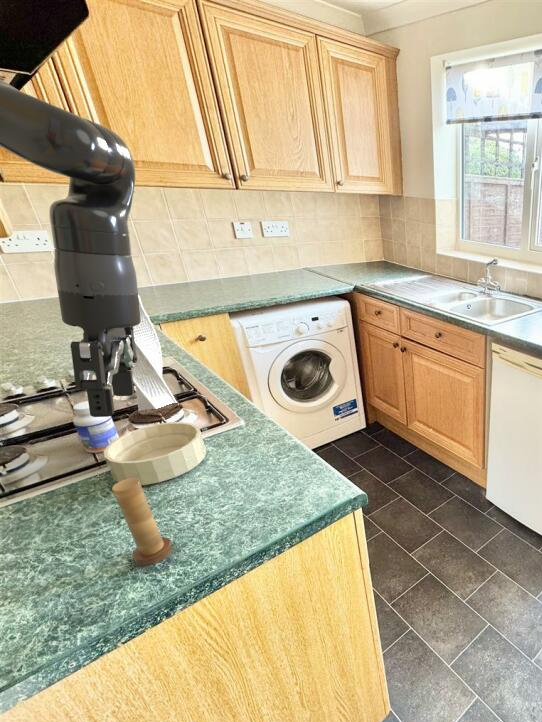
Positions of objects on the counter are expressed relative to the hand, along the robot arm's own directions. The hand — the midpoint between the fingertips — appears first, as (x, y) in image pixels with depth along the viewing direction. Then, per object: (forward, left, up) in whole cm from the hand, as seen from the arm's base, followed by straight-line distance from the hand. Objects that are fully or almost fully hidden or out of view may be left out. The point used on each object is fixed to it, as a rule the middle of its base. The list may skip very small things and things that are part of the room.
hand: (114, 405), depth 59 cm
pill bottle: (-24, +24, -22) cm, 40 cm away
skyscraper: (-22, +39, -22) cm, 50 cm away
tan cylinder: (+3, -6, -22) cm, 23 cm away
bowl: (-9, +17, -22) cm, 29 cm away
